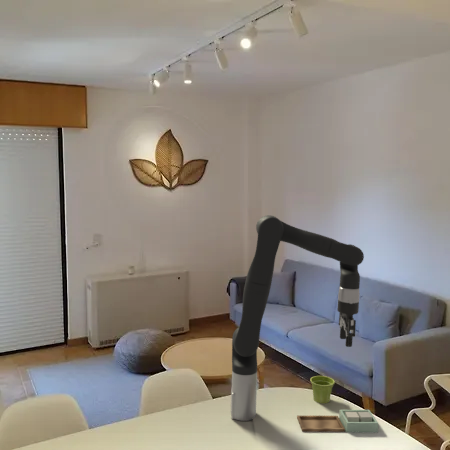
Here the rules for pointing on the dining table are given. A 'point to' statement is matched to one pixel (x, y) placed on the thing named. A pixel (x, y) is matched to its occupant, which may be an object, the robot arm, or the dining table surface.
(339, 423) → the tray
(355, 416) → the stone
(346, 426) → the bin
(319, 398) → the plant pot
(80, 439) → the dining table surface
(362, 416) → the stone
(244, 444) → the dining table surface
